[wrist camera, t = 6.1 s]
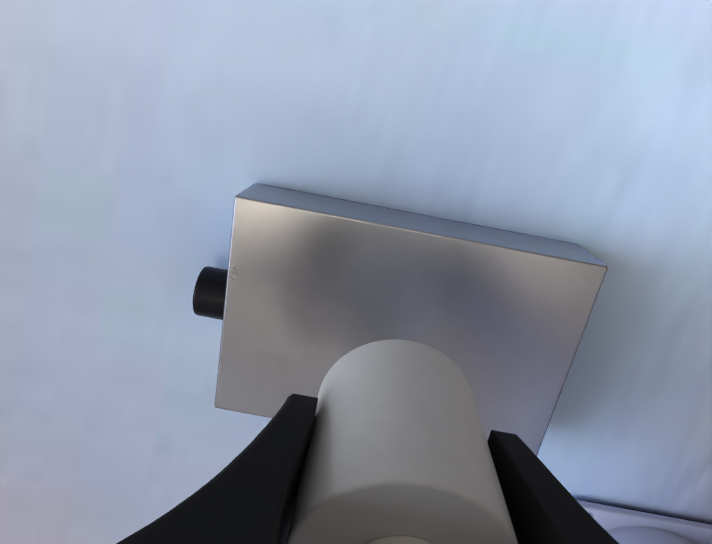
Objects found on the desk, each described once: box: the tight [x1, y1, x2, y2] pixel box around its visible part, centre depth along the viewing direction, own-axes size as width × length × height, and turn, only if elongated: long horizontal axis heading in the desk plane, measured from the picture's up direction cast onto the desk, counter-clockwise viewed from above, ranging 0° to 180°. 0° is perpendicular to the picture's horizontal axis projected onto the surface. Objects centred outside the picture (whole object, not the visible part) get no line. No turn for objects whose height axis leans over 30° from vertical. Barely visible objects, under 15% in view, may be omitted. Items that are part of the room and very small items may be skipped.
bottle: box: [286, 339, 518, 544], centre depth 10 cm, size 4×4×7 cm
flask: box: [193, 184, 607, 456], centre depth 18 cm, size 13×8×2 cm, turn 80°
